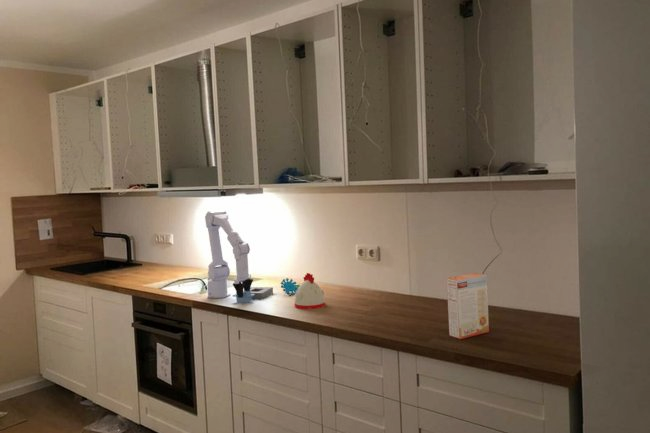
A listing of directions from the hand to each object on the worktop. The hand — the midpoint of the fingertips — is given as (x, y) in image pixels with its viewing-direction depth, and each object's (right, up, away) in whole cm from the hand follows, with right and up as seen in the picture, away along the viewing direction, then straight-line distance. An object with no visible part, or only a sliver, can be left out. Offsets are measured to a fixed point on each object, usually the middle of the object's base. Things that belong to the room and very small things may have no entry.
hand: (243, 295), depth 252 cm
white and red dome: (+33, -3, -13) cm, 35 cm away
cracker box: (+90, -3, -68) cm, 113 cm away
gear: (+22, -1, +15) cm, 26 cm away
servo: (0, -3, 0) cm, 3 cm away
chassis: (+5, -2, +12) cm, 13 cm away
